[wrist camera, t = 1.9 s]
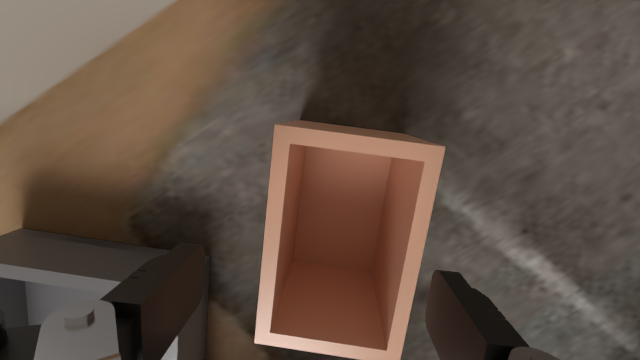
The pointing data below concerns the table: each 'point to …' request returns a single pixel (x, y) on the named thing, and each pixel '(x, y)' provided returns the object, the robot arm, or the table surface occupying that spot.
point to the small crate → (344, 238)
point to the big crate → (80, 280)
